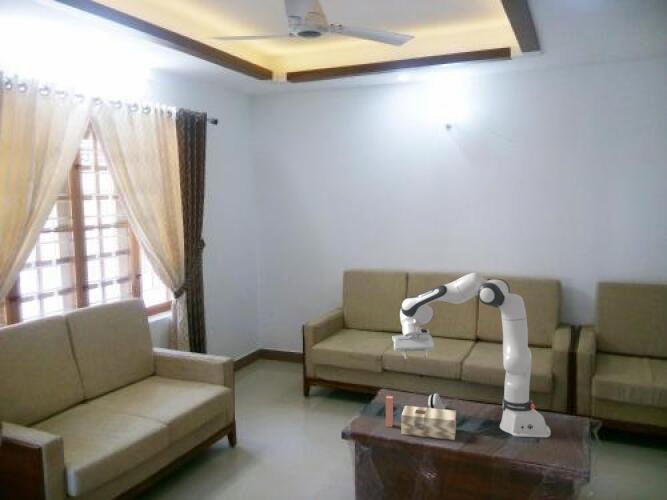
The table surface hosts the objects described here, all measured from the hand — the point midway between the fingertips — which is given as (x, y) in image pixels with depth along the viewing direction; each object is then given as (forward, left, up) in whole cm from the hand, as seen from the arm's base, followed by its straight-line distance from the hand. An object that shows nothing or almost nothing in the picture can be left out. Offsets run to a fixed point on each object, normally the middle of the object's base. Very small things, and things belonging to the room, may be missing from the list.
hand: (416, 358), depth 275 cm
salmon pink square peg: (+11, +15, -29) cm, 35 cm away
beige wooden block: (-8, +17, -29) cm, 35 cm away
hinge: (-10, -8, -30) cm, 32 cm away
